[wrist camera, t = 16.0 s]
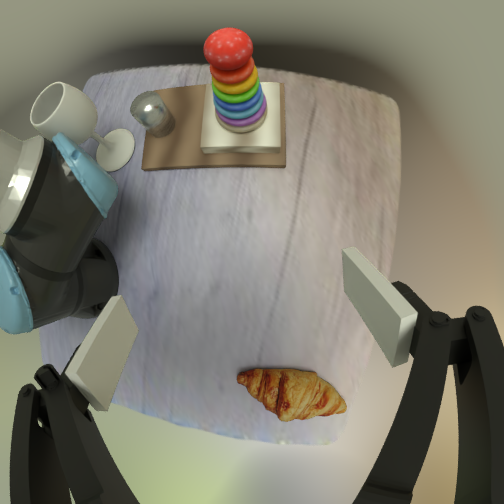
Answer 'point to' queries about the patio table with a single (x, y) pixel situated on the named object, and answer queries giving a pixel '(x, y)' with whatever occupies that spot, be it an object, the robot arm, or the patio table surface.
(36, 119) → the wineglass
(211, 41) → the stacking toy
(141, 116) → the grey brown short cylinder
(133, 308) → the patio table surface
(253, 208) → the patio table surface
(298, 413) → the croissant
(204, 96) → the board
